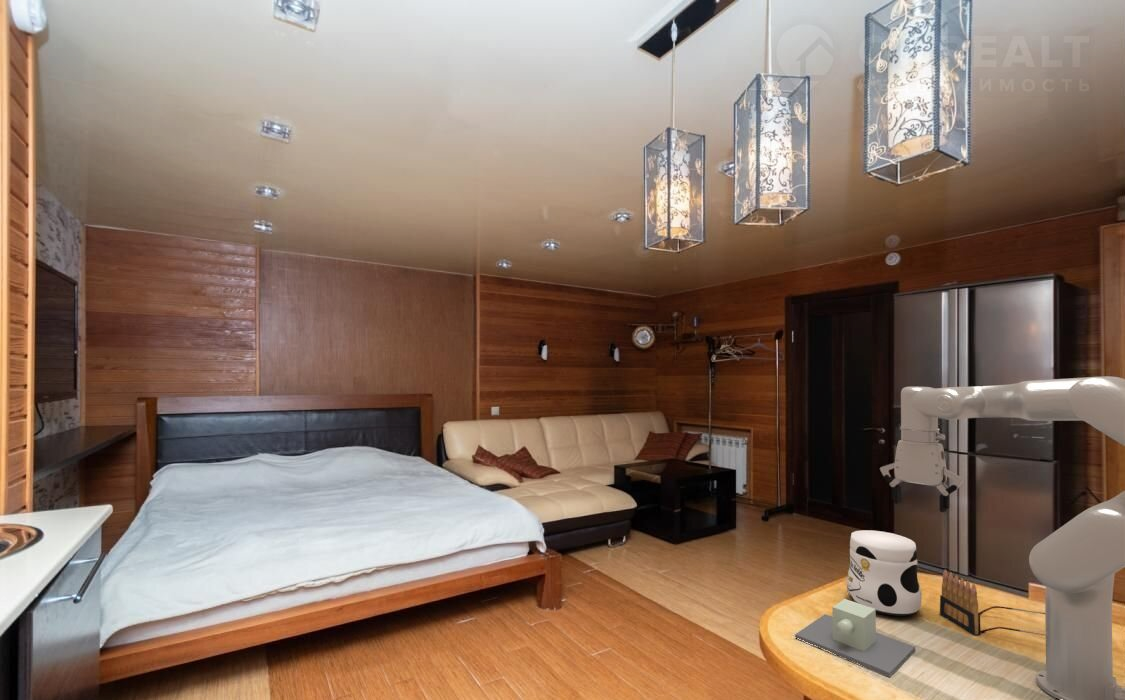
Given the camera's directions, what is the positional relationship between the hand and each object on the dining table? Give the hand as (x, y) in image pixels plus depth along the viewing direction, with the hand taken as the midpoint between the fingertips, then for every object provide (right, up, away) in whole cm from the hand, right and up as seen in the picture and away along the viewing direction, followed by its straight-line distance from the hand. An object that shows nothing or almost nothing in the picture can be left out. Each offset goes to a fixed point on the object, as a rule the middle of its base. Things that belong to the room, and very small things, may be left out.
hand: (919, 506), depth 129 cm
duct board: (-20, -30, -7) cm, 37 cm away
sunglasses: (+24, -31, -1) cm, 39 cm away
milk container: (-1, -31, +13) cm, 33 cm away
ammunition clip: (+12, -31, +3) cm, 33 cm away
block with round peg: (-21, -29, -8) cm, 37 cm away
